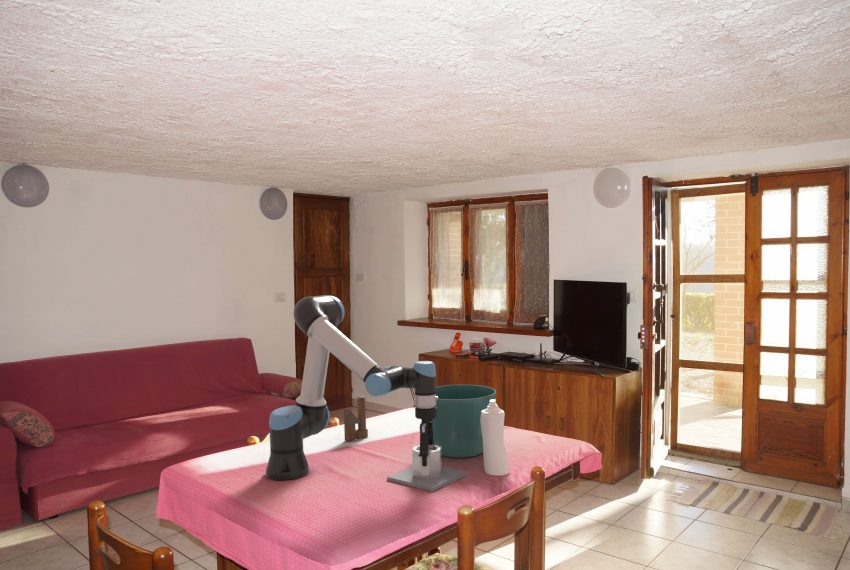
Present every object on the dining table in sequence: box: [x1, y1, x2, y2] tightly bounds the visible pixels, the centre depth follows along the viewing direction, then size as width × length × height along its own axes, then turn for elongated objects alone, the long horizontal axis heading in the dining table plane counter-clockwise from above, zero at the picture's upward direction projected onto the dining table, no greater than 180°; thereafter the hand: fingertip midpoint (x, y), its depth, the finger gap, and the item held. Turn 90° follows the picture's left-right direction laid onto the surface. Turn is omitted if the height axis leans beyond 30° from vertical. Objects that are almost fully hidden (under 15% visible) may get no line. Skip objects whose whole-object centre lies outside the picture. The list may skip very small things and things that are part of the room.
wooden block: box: [343, 395, 369, 443], centre depth 267 cm, size 4×11×18 cm, turn 139°
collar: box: [411, 444, 443, 479], centre depth 213 cm, size 10×10×9 cm
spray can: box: [480, 399, 510, 477], centre depth 219 cm, size 12×11×25 cm
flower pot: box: [432, 384, 497, 459], centre depth 243 cm, size 30×30×24 cm
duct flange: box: [386, 449, 469, 493], centre depth 213 cm, size 20×20×9 cm
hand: (427, 470), depth 213 cm, fingers closed on collar, 10 cm apart
